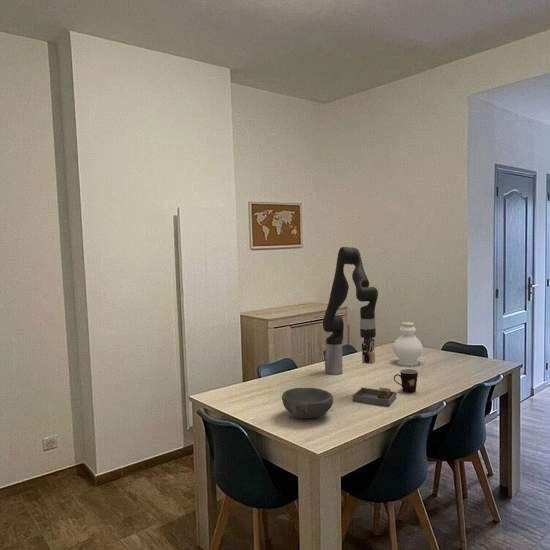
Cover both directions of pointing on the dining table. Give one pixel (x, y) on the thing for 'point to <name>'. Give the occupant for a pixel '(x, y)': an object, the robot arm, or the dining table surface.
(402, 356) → the decorative vase
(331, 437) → the dining table surface
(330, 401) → the bowl
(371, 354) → the terracotta block
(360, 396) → the charcoal tray
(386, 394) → the walnut block
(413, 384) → the coffee mug
